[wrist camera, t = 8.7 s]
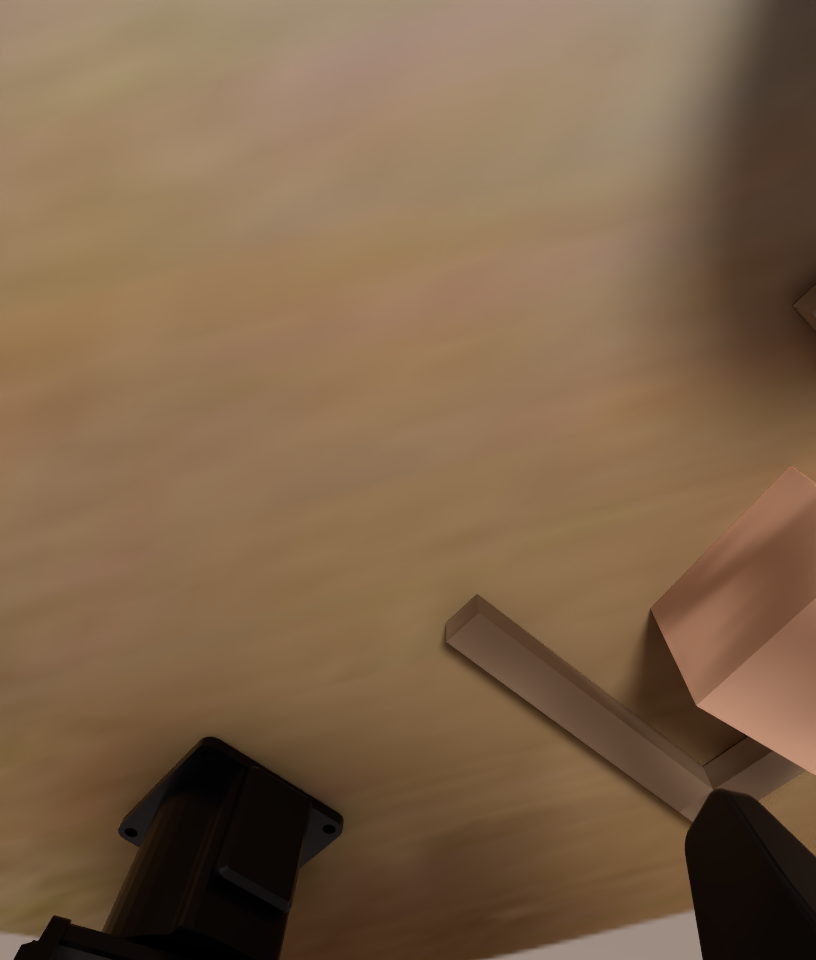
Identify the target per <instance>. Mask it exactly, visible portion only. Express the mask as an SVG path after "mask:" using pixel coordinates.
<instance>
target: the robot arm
mask: <svg viewBox="0 0 816 960" xmlns="http://www.w3.org/2000/svg"><path fill="white" fill-rule="evenodd" d="M208 750H209V751H208ZM210 751H212V752H210ZM342 828H343V818H342V816H341V815H340V814H339V813H337V812H336V811H334V810H332V809H331V808H329V807H328V806H326V805H324V804H323V803H321V802H319V801H318V800H316V799H315V798H313V797H311V796H310V795H308V794H307V793H305V792H303V791H302V790H300V789H299V788H297V787H295V786H294V785H292V784H290V783H289V782H287V781H286V780H284V779H282V778H281V777H279V776H278V775H276V774H274V773H273V772H271V771H269V770H268V769H266V768H265V767H263V766H261V765H260V764H258V763H257V762H255V761H253V760H252V759H250V758H249V757H247V756H245V755H244V754H242V753H240V752H239V751H237V750H236V749H234V748H232V747H231V746H229V745H228V744H226V743H224V742H223V741H221V740H219V739H217V738H215V737H205V738H203V739H201V740H200V741H199V742H198V743H197V744H196V745H195V746H194V747H193V748H192V749H191V750H190V751H189V752H188V753H187V754H186V755H185V756H184V757H183V758H182V759H181V760H180V761H179V762H178V763H177V764H176V765H175V766H174V767H173V768H172V770H171V771H170V772H169V773H168V774H167V775H166V776H165V777H164V778H163V779H162V780H161V781H160V782H159V783H158V784H157V785H156V786H155V787H154V788H153V789H152V790H151V791H150V792H149V793H148V794H147V795H146V796H145V797H144V798H143V799H142V800H141V801H140V802H139V803H138V804H137V805H136V806H135V807H134V808H133V809H132V810H131V811H130V812H129V813H128V814H127V815H126V816H125V817H124V819H123V821H122V823H121V825H120V827H119V829H118V832H119V834H120V836H121V837H123V838H124V839H125V840H127V841H129V842H131V843H133V844H134V845H136V846H138V847H140V848H139V850H138V852H137V854H136V857H135V859H134V861H133V863H132V866H131V868H130V870H129V872H128V875H127V877H126V879H125V881H124V883H123V886H122V888H121V890H120V892H119V895H118V897H117V899H116V901H115V904H114V906H113V908H112V910H111V912H110V915H109V917H108V919H107V921H106V924H105V926H104V928H103V930H102V932H99V931H96V930H92V929H89V928H85V927H81V926H78V925H74V924H71V920H70V919H67V918H63V917H59V916H56V915H54V916H53V917H52V919H51V921H50V922H49V924H48V926H47V927H46V929H45V931H44V932H43V934H42V936H41V937H40V939H39V940H38V941H35V940H33V941H32V942H30V943H27V944H23V945H21V947H20V949H19V950H18V952H17V954H16V956H15V958H14V960H279V959H280V954H281V949H282V944H283V939H284V935H285V930H286V925H287V920H288V915H289V910H290V908H291V906H292V901H293V896H294V892H295V887H296V882H297V877H298V872H299V868H301V867H302V866H303V865H304V864H305V863H307V862H308V861H309V860H310V859H311V858H313V857H314V856H315V855H316V854H318V853H319V852H320V851H321V850H322V849H324V848H325V847H326V846H327V845H329V844H330V843H331V842H332V841H333V840H335V839H336V838H337V837H338V836H340V834H341V833H342ZM685 856H686V862H687V868H688V874H689V880H690V886H691V892H692V898H693V904H694V910H695V916H696V922H697V928H698V933H699V940H700V946H701V952H702V958H703V960H816V857H815V856H814V855H813V854H812V853H811V852H810V851H809V850H808V849H807V848H806V847H805V846H804V845H803V844H802V843H801V842H800V841H799V840H798V839H797V838H796V837H795V836H794V835H793V834H792V833H791V832H790V831H788V830H787V829H786V828H785V827H784V826H783V825H782V824H781V823H780V822H779V821H778V820H777V819H776V818H775V817H774V816H773V815H772V814H771V813H770V812H769V811H768V810H767V809H766V808H765V807H764V806H763V805H761V804H760V803H759V802H758V801H757V800H756V799H755V798H754V797H753V796H751V795H749V794H746V793H743V792H738V791H734V790H729V789H724V788H717V789H715V790H713V791H712V792H711V793H710V794H709V795H708V797H707V799H706V800H705V802H704V804H703V806H702V807H701V809H700V811H699V812H698V814H697V816H696V818H695V819H694V821H693V823H692V824H691V826H690V828H689V830H688V832H687V835H686V839H685Z"/></svg>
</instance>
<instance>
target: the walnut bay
mask: <svg viewBox="0 0 816 960" xmlns="http://www.w3.org/2000/svg"><path fill="white" fill-rule="evenodd" d="M793 307H794V308H795V309H796V310H797V311H798V313H799V314H800V315H801V316H802V317H803V318H804V319H805V320H806V321H807V322H808V323H809V324H810V325H811V326H812V327H813V328H814V329H815V331H816V285H815V286H813V287H812V288H811V289H810V290H809V291H808V292H807V293H806V294H805V295H804V296H803V297H801V298H800V299H799V300H798V301H797V302H796V303H795V304H794V305H793ZM446 642H447V643H448V644H450V645H451V646H453V647H454V648H455V649H457V650H458V651H459V652H461V653H462V654H463V655H465V656H466V657H468V658H469V659H470V660H472V661H473V662H474V663H476V664H477V665H479V666H480V667H481V668H483V669H484V670H485V671H487V672H488V673H489V674H491V675H492V676H494V677H495V678H496V679H498V680H499V681H500V682H502V683H503V684H505V685H506V686H507V687H509V688H510V689H511V690H513V691H514V692H515V693H517V694H518V695H520V696H521V697H522V698H524V699H525V700H526V701H528V702H529V703H530V704H532V705H533V706H535V707H536V708H537V709H539V710H540V711H541V712H543V713H544V714H546V715H547V716H548V717H550V718H551V719H552V720H554V721H555V722H556V723H558V724H559V725H561V726H562V727H563V728H565V729H566V730H567V731H569V732H570V733H571V734H573V735H574V736H576V737H577V738H578V739H580V740H581V741H582V742H584V743H585V744H587V745H588V746H589V747H591V748H592V749H593V750H595V751H596V752H597V753H599V754H600V755H602V756H603V757H604V758H606V759H607V760H608V761H610V762H611V763H613V764H614V765H615V766H617V767H618V768H619V769H621V770H622V771H623V772H625V773H626V774H628V775H629V776H630V777H632V778H633V779H634V780H636V781H637V782H638V783H640V784H641V785H643V786H644V787H645V788H647V789H648V790H649V791H651V792H652V793H654V794H655V795H656V796H658V797H659V798H660V799H662V800H663V801H664V802H666V803H667V804H669V805H670V806H671V807H673V808H674V809H675V810H677V811H678V812H680V813H681V814H682V815H684V816H685V817H686V818H688V819H689V820H690V821H692V822H693V821H694V819H695V818H696V816H697V814H698V812H699V811H700V809H701V807H702V806H703V804H704V802H705V800H706V799H707V797H708V795H709V794H710V793H711V792H712V791H713V790H715V789H717V788H724V789H729V790H734V791H738V792H743V793H746V794H749V795H751V796H753V797H754V798H755V799H756V800H757V801H758V800H760V799H761V798H763V797H764V796H766V795H768V794H769V793H771V792H772V791H774V790H776V789H777V788H779V787H780V786H782V785H784V784H785V783H787V782H788V781H790V780H791V779H793V778H795V777H796V776H798V775H799V774H801V773H803V772H804V771H806V769H804V768H802V767H800V766H799V765H797V764H795V763H794V762H792V761H790V760H788V759H787V758H785V757H783V756H782V755H780V754H778V753H776V752H775V751H773V750H771V749H770V748H768V747H766V746H764V745H763V744H761V743H759V742H758V741H756V740H754V739H753V738H751V737H749V736H748V737H747V738H745V739H744V740H742V741H741V742H739V743H738V744H736V745H735V746H733V747H732V748H730V749H729V750H727V751H726V752H724V753H723V754H721V755H720V756H718V757H717V758H715V759H714V760H712V761H711V762H710V763H708V764H707V765H705V766H704V767H703V766H701V765H700V764H699V763H697V762H696V761H695V760H693V759H692V758H691V757H690V756H688V755H687V754H686V753H684V752H683V751H682V750H680V749H679V748H678V747H676V746H675V745H674V744H673V743H671V742H670V741H669V740H667V739H666V738H665V737H663V736H662V735H661V734H659V733H658V732H657V731H656V730H654V729H653V728H652V727H650V726H649V725H648V724H646V723H645V722H644V721H642V720H641V719H640V718H639V717H637V716H636V715H635V714H633V713H632V712H631V711H629V710H628V709H627V708H625V707H624V706H623V705H622V704H620V703H619V702H618V701H616V700H615V699H614V698H612V697H611V696H610V695H608V694H607V693H606V692H605V691H603V690H602V689H601V688H599V687H598V686H597V685H595V684H594V683H593V682H591V681H590V680H589V679H588V678H586V677H585V676H584V675H582V674H581V673H580V672H578V671H577V670H576V669H574V668H573V667H572V666H571V665H569V664H568V663H567V662H565V661H564V660H563V659H561V658H560V657H559V656H557V655H556V654H555V653H554V652H552V651H551V650H550V649H548V648H547V647H546V646H544V645H543V644H542V643H540V642H539V641H538V640H537V639H535V638H534V637H533V636H531V635H530V634H529V633H527V632H526V631H525V630H523V629H522V628H521V627H520V626H518V625H517V624H516V623H514V622H513V621H512V620H510V619H509V618H508V617H506V616H505V615H504V614H503V613H501V612H500V611H499V610H497V609H496V608H495V607H493V606H492V605H491V604H489V603H488V602H487V601H486V600H484V599H483V598H482V597H480V596H479V595H478V594H477V595H476V596H475V597H474V598H473V599H471V600H470V601H469V602H468V603H467V604H466V605H465V606H464V607H463V608H462V609H461V610H459V611H458V612H457V613H456V614H455V615H454V616H453V617H452V618H451V619H450V620H448V621H447V622H446Z"/></svg>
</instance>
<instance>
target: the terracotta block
mask: <svg viewBox="0 0 816 960" xmlns="http://www.w3.org/2000/svg"><path fill="white" fill-rule="evenodd" d="M650 609H651V611H652V613H653V615H654V617H655V619H656V621H657V624H658V626H659V628H660V630H661V632H662V634H663V636H664V638H665V640H666V643H667V645H668V647H669V649H670V651H671V653H672V655H673V657H674V659H675V662H676V664H677V666H678V668H679V670H680V672H681V674H682V676H683V678H684V681H685V683H686V685H687V687H688V689H689V691H690V693H691V695H692V697H693V700H694V702H695V704H696V706H698V707H699V708H701V709H703V710H705V711H706V712H708V713H710V714H711V715H713V716H715V717H717V718H718V719H720V720H722V721H723V722H725V723H727V724H729V725H730V726H732V727H734V728H735V729H737V730H739V731H741V732H742V733H744V734H746V735H747V736H749V737H751V738H753V739H754V740H756V741H758V742H759V743H761V744H763V745H764V746H766V747H768V748H770V749H771V750H773V751H775V752H776V753H778V754H780V755H782V756H783V757H785V758H787V759H788V760H790V761H792V762H794V763H795V764H797V765H799V766H800V767H802V768H804V769H806V770H807V771H809V772H811V773H812V774H814V775H816V483H815V482H814V481H813V480H811V479H810V478H808V477H807V476H805V475H804V474H802V473H801V472H800V471H798V470H797V469H795V468H794V467H792V466H791V465H790V466H789V467H788V468H787V469H786V470H785V471H784V472H783V473H782V474H781V475H780V477H779V478H778V479H777V480H776V481H775V482H774V483H773V484H772V485H771V486H770V487H769V488H768V489H767V490H766V491H765V492H764V493H763V494H762V495H761V496H760V497H759V498H758V499H757V500H756V501H755V502H754V503H753V504H752V505H751V506H750V507H749V508H748V509H747V510H746V511H745V512H744V513H743V514H742V515H741V516H740V517H739V518H738V519H737V520H736V521H735V522H734V523H733V525H732V526H731V527H730V528H729V529H728V530H727V531H726V532H725V533H724V534H723V535H722V536H721V537H720V538H719V539H718V540H717V541H716V542H715V543H714V544H713V545H712V546H711V547H710V548H709V549H708V550H707V551H706V552H705V553H704V554H703V555H702V556H701V557H700V558H699V559H698V560H697V561H696V562H695V563H694V564H693V565H692V566H691V567H690V568H689V569H688V570H687V572H686V573H685V574H684V575H683V576H682V577H681V578H680V579H679V580H678V581H677V582H676V583H675V584H674V585H673V586H672V587H671V588H670V589H669V590H668V591H667V592H666V593H665V594H664V595H663V596H662V597H661V598H660V599H659V600H658V601H657V602H656V603H655V604H654V605H653V606H652V607H651V608H650Z"/></svg>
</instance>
